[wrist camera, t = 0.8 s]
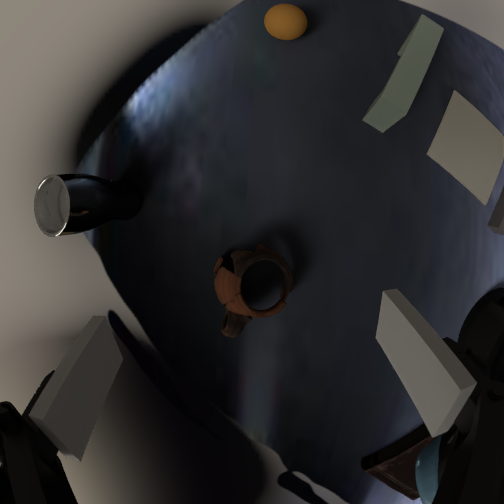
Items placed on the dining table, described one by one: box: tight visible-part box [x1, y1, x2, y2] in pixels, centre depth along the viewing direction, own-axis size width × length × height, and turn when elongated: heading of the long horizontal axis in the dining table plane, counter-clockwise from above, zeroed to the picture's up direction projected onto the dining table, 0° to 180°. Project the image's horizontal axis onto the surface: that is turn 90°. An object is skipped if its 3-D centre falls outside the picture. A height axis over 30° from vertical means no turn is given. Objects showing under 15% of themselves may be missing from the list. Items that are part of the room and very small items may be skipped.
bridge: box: [363, 14, 444, 133], centre depth 25 cm, size 3×14×9 cm, turn 150°
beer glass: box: [34, 173, 142, 237], centre depth 31 cm, size 7×7×15 cm
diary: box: [360, 423, 439, 500], centre depth 37 cm, size 19×25×5 cm
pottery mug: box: [213, 243, 294, 338], centre depth 35 cm, size 12×10×8 cm
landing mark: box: [427, 90, 504, 206], centre depth 29 cm, size 12×12×1 cm
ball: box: [264, 4, 307, 40], centre depth 27 cm, size 6×6×6 cm
